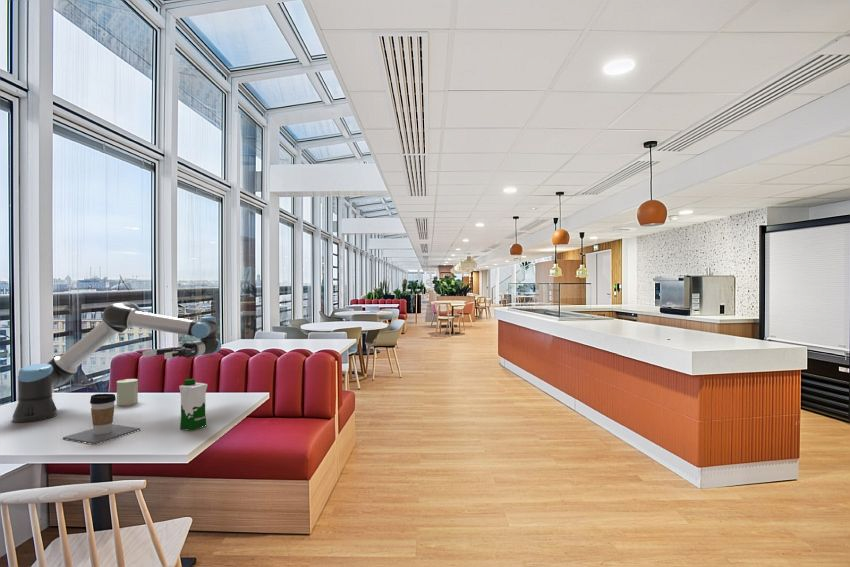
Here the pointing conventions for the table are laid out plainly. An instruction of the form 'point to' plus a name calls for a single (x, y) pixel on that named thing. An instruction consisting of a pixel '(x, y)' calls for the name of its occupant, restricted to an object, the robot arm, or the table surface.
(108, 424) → the coffee cup
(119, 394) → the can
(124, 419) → the table surface
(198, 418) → the milk carton
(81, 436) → the mat
